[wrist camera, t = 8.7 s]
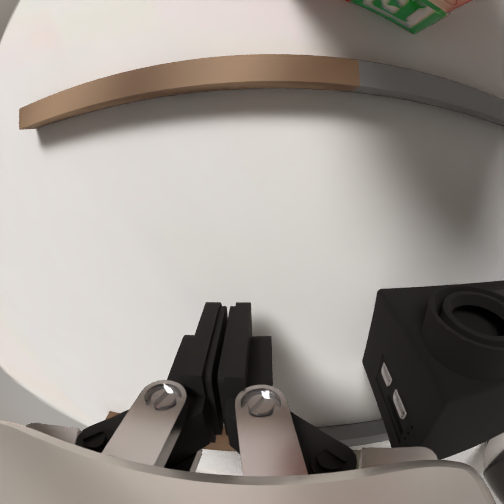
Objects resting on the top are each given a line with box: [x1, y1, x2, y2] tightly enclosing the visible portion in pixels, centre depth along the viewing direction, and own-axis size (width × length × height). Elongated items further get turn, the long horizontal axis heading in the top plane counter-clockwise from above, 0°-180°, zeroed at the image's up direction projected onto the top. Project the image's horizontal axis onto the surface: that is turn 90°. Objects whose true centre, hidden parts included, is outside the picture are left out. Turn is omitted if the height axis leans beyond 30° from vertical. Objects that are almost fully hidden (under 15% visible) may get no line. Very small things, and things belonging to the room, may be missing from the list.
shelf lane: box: [19, 54, 360, 451], centre depth 12 cm, size 14×20×1 cm
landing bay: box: [319, 60, 504, 447], centre depth 11 cm, size 13×20×1 cm, turn 1°
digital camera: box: [362, 281, 504, 460], centre depth 9 cm, size 10×5×7 cm, turn 91°
